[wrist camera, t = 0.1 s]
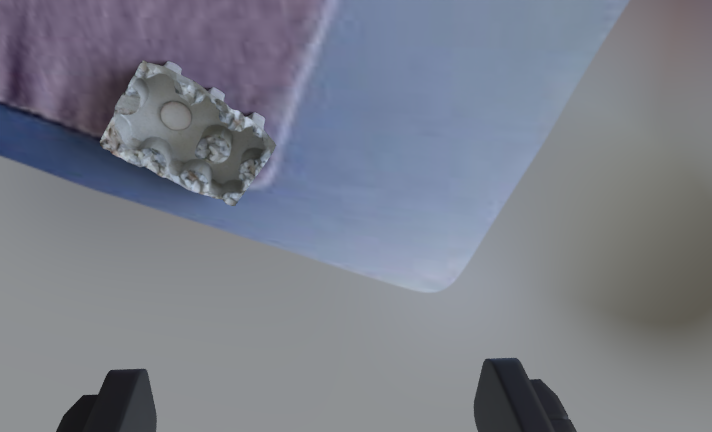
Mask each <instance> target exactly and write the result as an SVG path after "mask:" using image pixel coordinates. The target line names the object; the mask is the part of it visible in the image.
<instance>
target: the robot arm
mask: <svg viewBox="0 0 712 432" xmlns="http://www.w3.org/2000/svg"><path fill="white" fill-rule="evenodd" d="M474 417H475V422H476V426H477V430H478V432H576V429H575V428H574V426H573V424H572V422H571V420H570V419H568V415H567V413H566V411H565V409H564V407H563V405H562V404H561V402H560V400H559V398H558V396H557V395H556V394H555V393H554V392H553V391H552V390H551V389H550V388H549V387H548V386H547V385H546V384H545V383H543V382H542V381H541V380H540V379H534V380H529V378H528V376H527V374H526V372H525V370H524V368H523V366H522V364H521V362H520V361H519V360H518V359H517V358H497V359H485V361H484V363H483V366H482V370H481V375H480V379H479V383H478V387H477V392H476V396H475V400H474ZM156 419H157V418H156V410H155V405H154V401H153V395H152V392H151V386H150V381H149V376H148V373H147V370H146V369H127V370H111V371H109V372H108V374H107V376H106V378H105V380H104V382H103V385H102V387H101V389H100V392H99V394H98V395H83V396H82V397H81V398H80V399H79V400H78V401H77V402H76V403H75V404H74V405H73V406H72V407H71V408H70V409H69V410H68V411H67V413H66V414H65V415H64V416H63V418H62V420H61V422H60V424H59V427H58V429H57V431H56V432H156V422H157V420H156Z"/></svg>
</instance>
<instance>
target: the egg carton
mask: <svg viewBox="0 0 712 432" xmlns="http://www.w3.org/2000/svg"><path fill="white" fill-rule="evenodd" d="M181 71H182V69H181V68H180V67H179V66H178V65H176V64H175V63H172V62H170V61H167V62H166V64H165V65H163V66H161V65H156V64H152V63H148V62H145V61H144V60H143V61H142V62H141V63H140V65H139V67H138V69H137V71H136V73H135V76H133V78H132V79H131V81H130V83H129V85H128V87H127V90H126V92H125V93H123V94H122V95H121V97H120V99H119V100H118V102H117V104H116V106H115V112H114V116H113V118H112V120H111V121H110V123H109V125H108V127H107V128H106V130H105V132H104V134H103V136H102V138H101V140H100V146H101V147H102V148H104V149H106V150H109V151H110V152H111V153H112V154H113V155H115V156H117V157H120V158H122V159H124V160H125V161H126V162H129V163H131V164H133V165H136V166H138V167H143V166H144V167H146V168H148V169H150V170H151V171H153V172H155V173H156V174H157V175H159V176H161V177H164V178H168V179H170V180H171V181H173V182H175V183H177V184H180V185H181V186H183V187H184V188H186V189H187V190H190V191H193V192H196V193H199V194H202V195H207V196H210V197H212V198H216V199H222V200H224V202H225V203H226V204H228V205H230V206H235V205H236V204H237V202H238V201H239V199H240V198H241V196H242V195H243V194H244V192H245V191H246V190H247V188H248V187H249V185H250V184H251V183H252V181H253V180H254V179H255V177H256V176H257V174H258V173H259V172H260V170H261V169H262V168H263V166H264V165H265V164H266V162H267V160H268V159H269V157H270V156H271V154H272V153H273V151H274V149H275V146H276V144H275V142H274V141H273V140H272V139H271V138H270V137H269V136H268V134H267V133H266V132H265V131H264V123H265V118H264V117H262V116H261V115H259V114H257V113H255V112H254V113H252V114H251V115H249V116H247V117H245V116H244V115H243V114H242V113H241V112H240V111H238V110H232V109H231V108H230V107H229V106H228V105H227V104H226V103H224V97H225V94H224V93H223V92H221V91H220V90H218V89H216V88H214V87H212V88H211V89H209V90H208V91H207V90H205V89H204V88H203V87H202V86H200V85H199V84H197V83H196V82H194V81H192V80H190V79H188V78H186V77H184V76H182V75H181Z"/></svg>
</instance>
